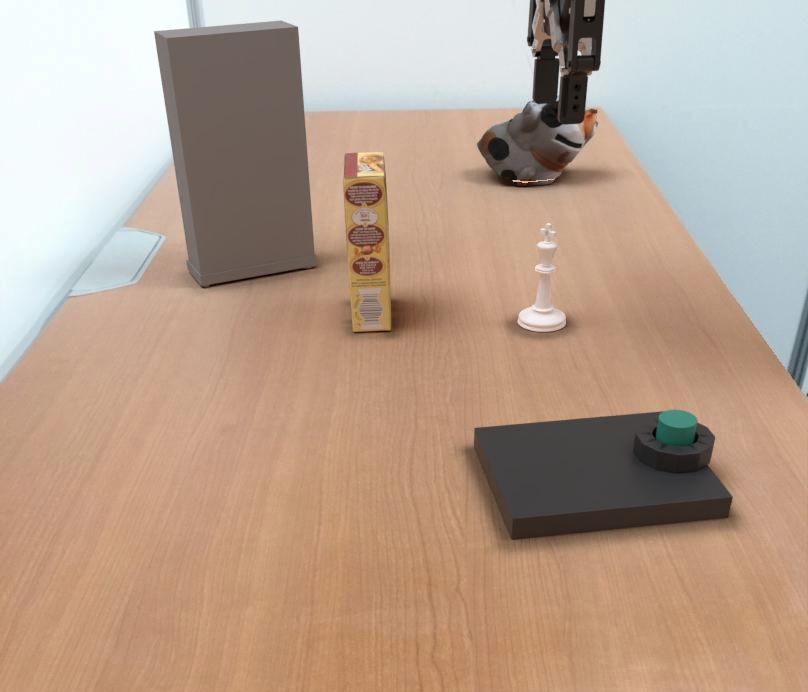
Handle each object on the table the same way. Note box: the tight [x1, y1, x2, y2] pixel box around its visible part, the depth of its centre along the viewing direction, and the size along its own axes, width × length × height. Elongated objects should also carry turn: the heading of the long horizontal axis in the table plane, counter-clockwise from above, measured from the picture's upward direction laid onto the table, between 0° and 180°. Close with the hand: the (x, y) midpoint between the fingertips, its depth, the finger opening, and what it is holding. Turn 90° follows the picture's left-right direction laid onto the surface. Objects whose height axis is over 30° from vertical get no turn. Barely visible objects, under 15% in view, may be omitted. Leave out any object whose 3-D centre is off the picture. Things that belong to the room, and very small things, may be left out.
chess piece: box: [517, 222, 567, 333], centre depth 95 cm, size 5×5×10 cm
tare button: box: [656, 409, 698, 447], centre depth 71 cm, size 3×3×2 cm
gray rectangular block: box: [153, 20, 318, 288], centre depth 104 cm, size 14×6×25 cm, turn 115°
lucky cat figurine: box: [476, 95, 599, 187], centre depth 137 cm, size 15×12×14 cm
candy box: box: [342, 151, 392, 333], centre depth 95 cm, size 9×4×15 cm, turn 2°
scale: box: [473, 410, 734, 541], centre depth 72 cm, size 17×13×4 cm
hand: (556, 112), depth 86 cm, fingers open, 8 cm apart
